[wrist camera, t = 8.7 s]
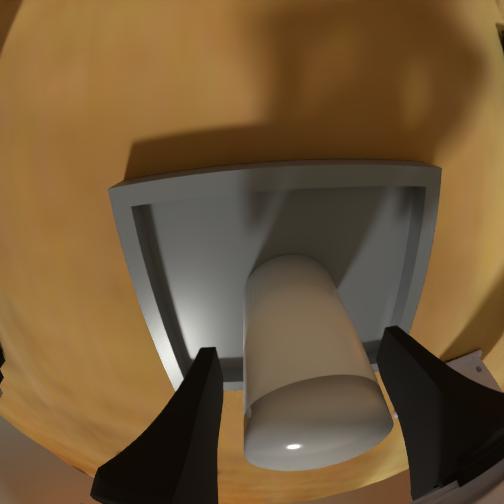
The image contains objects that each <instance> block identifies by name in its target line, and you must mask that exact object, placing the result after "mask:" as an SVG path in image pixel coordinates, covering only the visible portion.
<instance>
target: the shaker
mask: <svg viewBox="0 0 504 504" xmlns="http://www.w3.org/2000/svg"><path fill="white" fill-rule="evenodd" d="M243 389H244V457H245V458H246V460H247V461H248V462H250V463H251V464H253V465H255V466H258V467H261V468H265V469H269V470H277V471H301V470H310V469H317V468H322V467H326V466H330V465H334V464H338V463H341V462H344V461H346V460H349V459H352V458H354V457H356V456H358V455H360V454H362V453H364V452H366V451H368V450H370V449H371V448H373V447H374V446H376V445H377V444H379V443H380V442H381V441H382V440H384V439H385V438H386V437H387V435H388V434H389V433H390V432H391V430H392V428H393V420H392V417H391V414H390V412H389V409H388V406H387V404H386V401H385V399H384V396H383V394H382V391H381V388H380V386H379V383H378V381H377V378H376V376H375V374H374V371H373V369H372V366H371V364H370V362H369V359H368V357H367V354H366V352H365V350H364V347H363V345H362V343H361V341H360V338H359V336H358V334H357V331H356V329H355V327H354V325H353V323H352V320H351V318H350V316H349V314H348V312H347V309H346V307H345V305H344V303H343V301H342V299H341V297H340V295H339V292H338V290H337V288H336V286H335V284H334V282H333V280H332V278H331V276H330V274H329V272H328V271H327V269H326V268H325V267H324V266H323V265H322V264H321V263H319V262H318V261H316V260H315V259H313V258H310V257H307V256H303V255H282V256H278V257H275V258H272V259H270V260H268V261H266V262H264V263H263V264H261V265H260V266H259V267H257V268H256V269H255V270H254V271H253V272H252V274H251V275H250V276H249V278H248V280H247V282H246V284H245V287H244V294H243Z"/></svg>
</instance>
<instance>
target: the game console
mask: <svg viewBox="0 0 504 504" xmlns="http://www.w3.org/2000/svg"><path fill="white" fill-rule="evenodd" d="M4 362H5V358H4V356H3V353H2V350H1V348H0V368H1V366H2V365H3V363H4ZM3 378H4V377H3V375H2V373H1V370H0V383H1V381H2V380H3ZM2 394H3V392H2V390H1V389H0V397H1V395H2Z"/></svg>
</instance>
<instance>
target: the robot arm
mask: <svg viewBox="0 0 504 504" xmlns="http://www.w3.org/2000/svg"><path fill="white" fill-rule="evenodd" d="M481 355H482V350H481V349H480V350H477V351H475V352H473V353H470V354H468V355H465V356H463V357H460V358H458V359H455V360H452V361H450V362H447V363H444V362H442V361H441V360H440V359H438V358H437V357H436V356H434V355H433V354H432V353H430V352H429V351H428V350H427V349H425V348H424V347H423V346H422V345H421V344H419V343H418V342H417V341H416V340H415V339H413V338H412V337H411V336H410V335H408V334H407V333H406V332H405V331H404V330H402V329H401V328H400V327H399V326H397V325H395V326H390V327H385V329H384V333H383V337H382V340H381V344H380V347H379V350H378V354H377V357H376V362H377V365H378V369H379V372H380V376H381V379H382V381H383V383H384V386H385V388H386V390H387V393H388V395H389V397H390V400H391V402H392V404H393V407H394V409H395V413H394V417H395V418H397V417H398V419H399V422H400V425H401V429H402V433H403V437H404V441H405V446H406V450H407V456H408V463H409V470H410V480H411V481H410V482H411V496H412V499H413V501H412V502H410V503H407V504H504V393H503V392H502V390H501V388H500V387H499V385H498V384H497V382H496V381H495V379H494V378H493V376H492V375H491V373H490V372H489V370H488V369H487V367H486V366H485V364H484V363H483V361H482V360H481V359H480V356H481ZM222 405H223V374H222V370H221V366H220V362H219V358H218V354H217V349H216V347H201V348H200V349H199V351H198V353H197V355H196V357H195V359H194V361H193V363H192V365H191V367H190V369H189V371H188V372H187V374H186V376H185V378H184V379H183V381H182V383H181V384H180V386H179V388H178V389H177V391H176V392H175V394H174V395H173V396H172V398H171V399H170V401H169V402H168V404H167V405H166V406H165V408H164V409H163V410H162V412H161V413H160V414H159V415H158V417H157V418H156V419H155V420H154V421H153V422H152V423H151V425H150V426H149V427H148V428H147V429H146V430H145V431H144V432H143V433H142V434H141V435H140V436H139V437H138V438H137V439H136V440H135V441H133V442H132V443H131V444H130V445H129V446H128V447H126V448H125V449H124V450H123V451H122V452H121V453H119V454H118V455H117V456H115V457H114V458H112V459H111V460H109V461H108V462H106V463H105V464H104V465H102V466H100V467H99V468H98V470H97V472H96V475H95V478H94V482H93V485H92V489H91V493H90V496H91V497H92V498H93V499H95V500H96V501H98V502H100V503H102V504H218V484H217V447H218V437H219V429H220V421H221V413H222ZM80 504H84V503H80Z"/></svg>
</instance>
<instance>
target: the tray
mask: <svg viewBox="0 0 504 504" xmlns="http://www.w3.org/2000/svg"><path fill="white" fill-rule="evenodd" d="M441 172H442V168H440V167H437V166H434V165H431V164H428V163H425V162H419V161H402V160H377V159H316V160H290V161H272V162H258V163H246V164H235V165H225V166H215V167H207V168H199V169H191V170H184V171H176V172H170V173H163V174H157V175H151V176H145V177H140V178H134V179H129V180H123V181H121V182H120V183H118V184H116V185H114V186H112V187H110V188H109V189H108V191H109V196H110V201H111V205H112V210H113V214H114V219H115V223H116V227H117V231H118V235H119V238H120V242H121V246H122V250H123V253H124V257H125V260H126V263H127V267H128V270H129V273H130V277H131V280H132V283H133V286H134V289H135V292H136V295H137V298H138V301H139V304H140V307H141V309H142V312H143V315H144V318H145V320H146V323H147V326H148V328H149V331H150V334H151V336H152V339H153V341H154V344H155V346H156V348H157V351H158V353H159V356H160V358H161V360H162V363H163V365H164V367H165V370H166V372H167V374H168V376H169V378H170V381H171V383H172V385H173V387H174V389H175V391H177V389H178V388H179V386H180V384H181V383H182V381H183V379H184V378H185V376H186V374H187V372H188V371H189V369H190V367H191V365H192V363H193V361H194V359H195V357H196V355H197V353H198V351H199V349H200V348H201V347H216V349H217V354H218V358H219V362H220V366H221V370H222V374H223V391H232V390H244V389H243V294H244V287H245V284H246V282H247V280H248V278H249V276H250V275H251V274H252V272H253V271H254V270H255V269H256V268H257V267H259V266H260V265H261V264H263V263H264V262H266V261H268V260H270V259H272V258H275V257H278V256H282V255H303V256H307V257H310V258H313V259H315V260H316V261H318V262H319V263H321V264H322V265H323V266H324V267H325V268H326V269H327V271H328V272H329V274H330V276H331V278H332V280H333V282H334V284H335V286H336V288H337V290H338V292H339V295H340V297H341V299H342V301H343V303H344V305H345V307H346V309H347V312H348V314H349V316H350V318H351V320H352V323H353V325H354V327H355V329H356V331H357V334H358V336H359V338H360V341H361V343H362V345H363V347H364V350H365V352H366V354H367V357H368V359H369V362H370V364H371V366H372V369H373V371H374V372H377V371H379V369H378V365H377V362H376V357H377V354H378V350H379V347H380V344H381V340H382V337H383V333H384V329H385V327H390V326H395V325H397V326H399V327H400V328H401V329H402V330H404V331H405V332H406V333H407V334H408V335H409V332H410V329H411V326H412V323H413V320H414V317H415V313H416V310H417V307H418V303H419V300H420V296H421V292H422V288H423V285H424V281H425V276H426V272H427V268H428V263H429V259H430V254H431V249H432V244H433V238H434V232H435V226H436V219H437V212H438V204H439V195H440V185H441Z"/></svg>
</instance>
